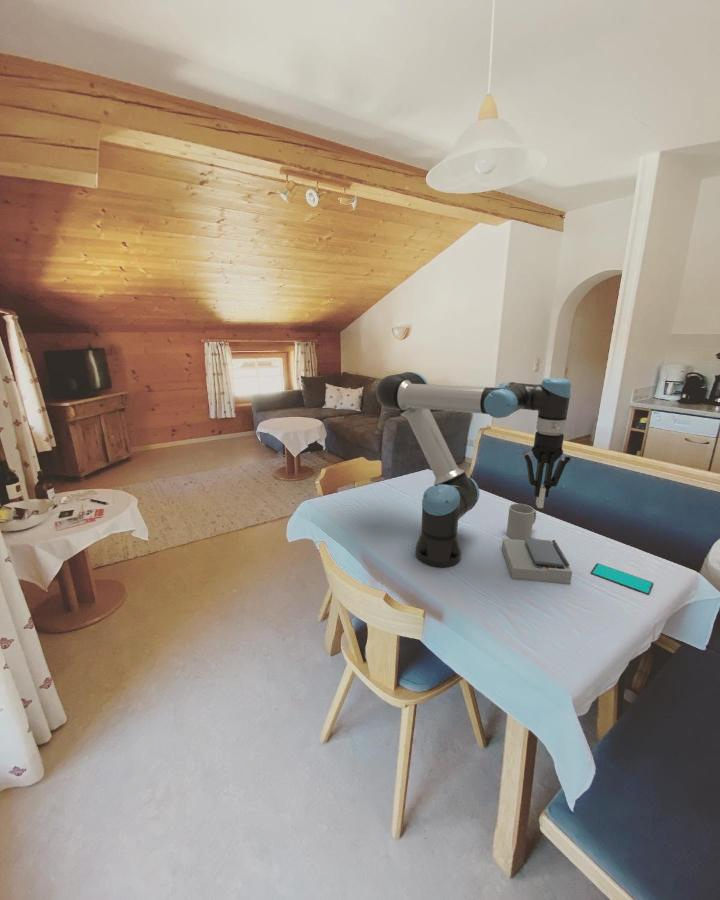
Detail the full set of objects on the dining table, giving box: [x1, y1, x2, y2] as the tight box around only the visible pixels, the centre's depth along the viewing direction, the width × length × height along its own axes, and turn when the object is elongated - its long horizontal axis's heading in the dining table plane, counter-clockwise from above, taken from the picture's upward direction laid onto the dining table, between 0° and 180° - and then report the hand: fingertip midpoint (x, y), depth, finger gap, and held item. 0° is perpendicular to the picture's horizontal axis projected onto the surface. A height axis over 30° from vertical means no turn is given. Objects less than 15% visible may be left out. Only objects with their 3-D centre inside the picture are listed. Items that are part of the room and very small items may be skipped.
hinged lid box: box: [501, 538, 573, 585], centre depth 126 cm, size 17×18×4 cm
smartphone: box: [590, 563, 654, 596], centre depth 119 cm, size 7×1×15 cm
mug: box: [506, 503, 537, 540], centre depth 144 cm, size 12×8×11 cm
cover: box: [525, 537, 570, 567], centre depth 124 cm, size 10×14×1 cm
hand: (539, 506), depth 121 cm, fingers closed
